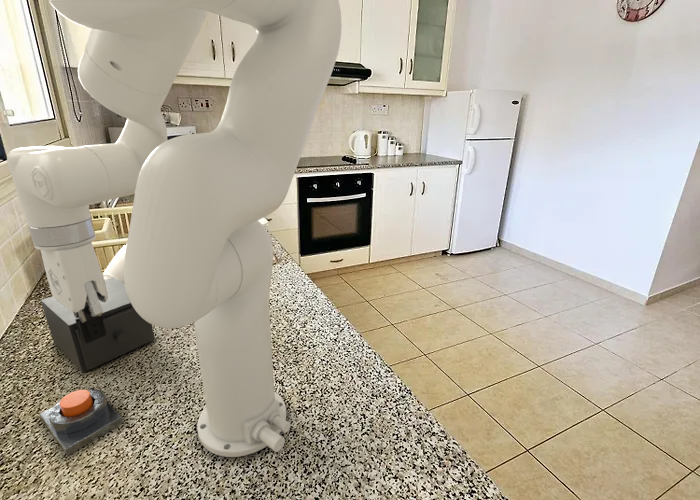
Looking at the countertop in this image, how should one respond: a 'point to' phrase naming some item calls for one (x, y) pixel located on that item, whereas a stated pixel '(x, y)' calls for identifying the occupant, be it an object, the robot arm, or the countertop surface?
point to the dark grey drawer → (116, 337)
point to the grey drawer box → (65, 321)
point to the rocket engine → (116, 266)
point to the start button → (76, 403)
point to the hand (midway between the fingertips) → (94, 337)
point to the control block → (81, 423)
